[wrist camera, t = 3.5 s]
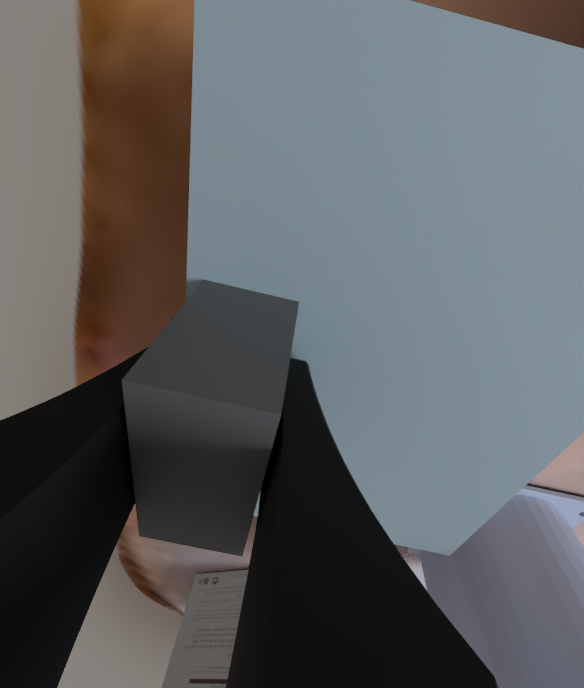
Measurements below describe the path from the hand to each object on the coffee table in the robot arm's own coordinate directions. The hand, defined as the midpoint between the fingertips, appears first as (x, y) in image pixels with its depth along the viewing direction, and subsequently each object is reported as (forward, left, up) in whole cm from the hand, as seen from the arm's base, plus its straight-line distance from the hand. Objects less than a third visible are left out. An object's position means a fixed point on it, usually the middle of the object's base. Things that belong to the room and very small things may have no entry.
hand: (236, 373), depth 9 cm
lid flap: (0, -5, -1) cm, 5 cm away
